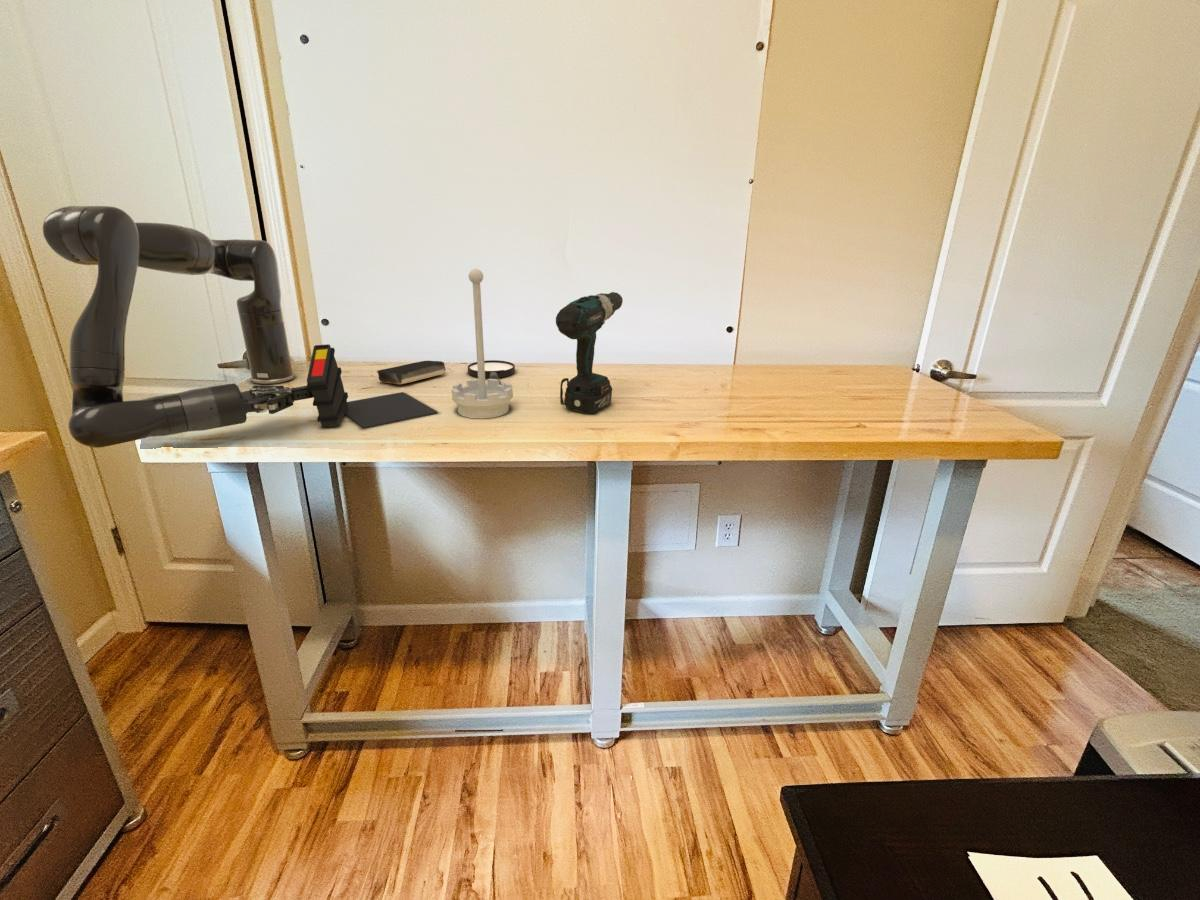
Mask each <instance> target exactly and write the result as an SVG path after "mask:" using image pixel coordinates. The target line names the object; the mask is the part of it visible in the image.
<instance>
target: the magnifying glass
mask: <svg viewBox="0 0 1200 900" xmlns="http://www.w3.org/2000/svg"><path fill="white" fill-rule="evenodd" d="M484 365H485V379H486V380H488V379H498V380H499V385H502V382H501V379H502V378H505V377H508V376H511V375H514V373H516V365H515V364H514V363H513V362H510V361H506V360H496V359H494V360H493V359H492V360H491V359H490V360H489V359H488V360H484ZM467 373H468V374H469V375H470V376H471V377H476V378H478V368H477V361H475V362H472V363H469V364H468V365H467Z"/></svg>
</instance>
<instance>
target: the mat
mask: <svg viewBox="0 0 1200 900" xmlns="http://www.w3.org/2000/svg"><path fill="white" fill-rule="evenodd" d="M347 404H348V409H347V411H346V413H345V414H344V416H346V417H347V418H349V419H350V420H351V421H353V422H354V423H356V425H358V426H359V427H361V428H362V429H368V428H373V427H377V426H383V425H388V424H392V423H398V422H402V421H407V420H412V419H416V418H421V417H426V416H430V415H436V414H438V411H437V410H435V409H434V408H433V407H430V406H428V405H427V404H425V403H423V402H421V401H419V400H418V399H416V398H415V397H413V396H411V395H409V394H407V393H406V392H403V391H400V392H395V393H391V394H384V395H378V396H373V397H368V398H362V399H356V400H350V401H347Z"/></svg>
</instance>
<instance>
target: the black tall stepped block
mask: <svg viewBox="0 0 1200 900" xmlns="http://www.w3.org/2000/svg"><path fill="white" fill-rule="evenodd" d="M335 352H336V350H335V347H332V346H331V344H329V343H328V344H315V345H314V346H313V349H312V354H311V358H310V363H309V368H308V373H307V377H306V386H307V387H306V389H307V391H311V392H312V395H313V401H312V406H313V407H316V409H317V413H318V416H317V418H316V421H317V422H320V425H321V427H322V428H323V429H324V428H335V427H336V428H337V427H338V426H339V425H340V423H341V421H342V419H343V418H344V417H345V413H346V411H347V409H348V404H347V402H348V401H347V400H348V398H349V393H348V392H347V391H345V388H344V383H343V380H342V377H341V376H342V372H343V371H342V368H341V367H339V366H338V363H337V360H336V357H335Z"/></svg>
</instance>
